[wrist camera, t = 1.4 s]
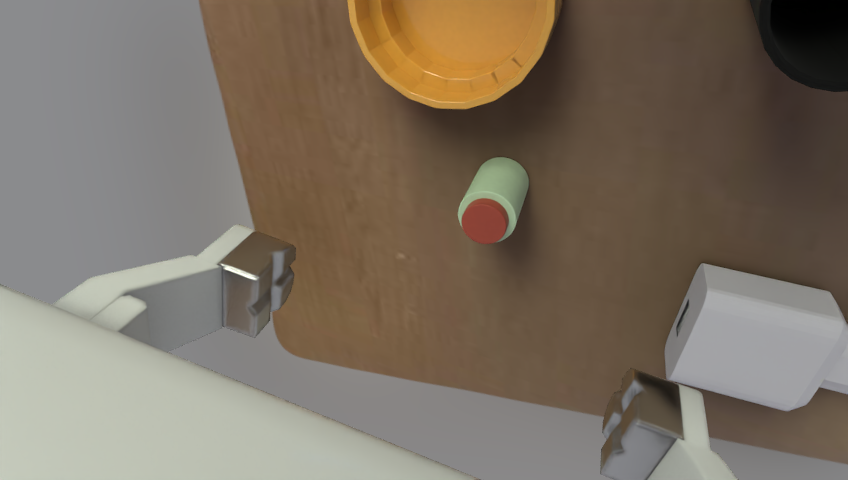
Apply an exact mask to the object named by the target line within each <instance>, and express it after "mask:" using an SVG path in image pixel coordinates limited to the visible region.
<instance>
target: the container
mask: <svg viewBox="0 0 848 480" xmlns="http://www.w3.org/2000/svg"><path fill="white" fill-rule="evenodd" d="M528 187H529V179H528V175H527V173H526V171H525V170H524V168H523V167H522V166H521V165H520V164H519V163H518V162H516V161H514V160H512V159H509V158H505V157H497V158H492V159H490V160H488V161H486V162H485V163H483V164H482V165H481V167H480V168H479V170H478V172H477V174H476V176H475V177H474V179H473V181H472V183H471V185H470V187H469V189H468V191H467V192H466V194H465V196H464V198H463V200H462V202H461V204H460V206H459V210H458V218H459V222H460V224H461V226H462V228H463V230H464V232H465V233H466V235H467V236H468V237H469V238H470V239H472V240H473V241H475V242H478V243H481V244H491V243H495V242H499V241H502V240H504V239H506V238H507V237H508V236H509V235H510V234H511V233H512V232H513V230H514V228H515V226H516V223H517V220H518V217H519V214H520V211H521V208H522V205H523V203H524V200H525V197H526V194H527V191H528Z"/></svg>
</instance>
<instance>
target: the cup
mask: <svg viewBox="0 0 848 480" xmlns="http://www.w3.org/2000/svg"><path fill="white" fill-rule="evenodd" d="M750 3H751V6H752V9H753V12H754V16H755V19H756V22H757V25H758V29H759V32H760V35H761V39H762V42H763V45H764V48H765V50H766V52H767V53H768V55H769V56H770V58H771V60H772V61H773V63H774V64H775V66H776V67H778V68H779V69H780V70H781V71H782V72H784V73H785V74H786V75H787V76H788V77H790V78H791V79H792V80H795V81H797V82H799V83H801V84H804V85H806V86H808V87H811V88H815V89H821V90H827V91H833V92H841V91H848V0H750Z"/></svg>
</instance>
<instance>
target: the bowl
mask: <svg viewBox="0 0 848 480" xmlns="http://www.w3.org/2000/svg"><path fill="white" fill-rule="evenodd" d="M347 1H348V8H349V16H350V23H351V26H352V29H353V31H354V33H355V36H356V38H357V41H358V43H359V45H360V48H361V50H362V53H363V55H364V56H365V58H366V59H367V60H368V61H369V63H370V64H371V65H372V67H373V68H374V69H375V70H376V72H377V73H378V74H379V76H380V77H381V78H382V79H383V80H384V81H385V82H386V83H388V84H389V85H390V86H392V87H393V88H394V89H396V90H397V91H399V92H400V93H401V94H403V95H404V96H405V97H407V98H408V99H411V100H414V101H417V102H419V103H422V104H425V105H428V106H431V107H434V108H439V109H469V108H472V107H476V106H479V105H482V104H486V103H489V102H493V101H495V100H497V99H498V98H500V97H501V96H503V95H504V94H506V93H507V92H508V91H510V90H511V89H513V88H514V87H516V86H517V85H518V84H520V83H521V82H522V81H523V80H524V78H525V77H526V76H527V74H528V73H529V72H530V71H531V69H532V68H533V67H534V65H535V64H536V63H537V61H538V60H539V59H540V57H541V56H542V54H543V52H544V50H545V48H546V46H547V44H548V43H549V41H550V39H551V36H552V34H553V31H554V28H555V25H556V22H557V20H558V17H559V14H560V11H561V7H562V0H347Z"/></svg>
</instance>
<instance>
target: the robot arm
mask: <svg viewBox="0 0 848 480" xmlns="http://www.w3.org/2000/svg"><path fill="white" fill-rule="evenodd" d="M295 258H296V248H295V247H294V245H292V244H290V243H287V242H285V241H282V240H279V239H277V238H274V237H272V236H269V235H267V234H264V233H261V232H259V231H255V230H253V229H250V228H248V227H245V226H242V225H240V224H239V225H234V226H233V227H232V228H230V229H229V230H228V231H227V232H226V233H224V234H223V235H222V236H221V237H219V238H218V239H217V240H216V241H215V242H213V243H212V244H211V245H210V246H209V247H207V248H206V249H205V250H204V251H202V252H201V253H200V254H199V255H198V256H196V257H195V256H192V255H189V256H184V257H180V258H175V259H171V260H166V261H162V262H157V263H153V264H149V265H144V266H140V267H136V268H131V269H127V270H122V271H118V272H113V273H109V274H105V275H100V276H96V277H91V278H89V279H88V280H86V281H85V282H83V283H82V284H81V285H79V286H78V287H76V288H75V289H73V290H72V291H71V292H69V293H68V294H66V295H65V296H63V297H62V298H61V299H59V300H58V301H56V302H55V303H54V304H52V305H51V304H48V303H46V302H43V301H41V300H38V299H36V298H33V297H31V296H29V295H26V294H24V293H21V292H19V291H16V290H14V289H11V288H9V287H7V286H4V285H2V284H0V480H480V479H478V478H475V477H473V476H471V475H468V474H466V473H463V472H460V471H458V470H456V469H453V468H451V467H449V466H446V465H444V464H441V463H439V462H436V461H434V460H431V459H429V458H427V457H424V456H421V455H419V454H417V453H414V452H412V451H409V450H407V449H404V448H402V447H399V446H397V445H395V444H392V443H390V442H387V441H385V440H382V439H380V438H377V437H375V436H372V435H370V434H367V433H365V432H362V431H360V430H357V429H355V428H353V427H350V426H347V425H345V424H343V423H340V422H338V421H335V420H333V419H330V418H328V417H326V416H323V415H321V414H318V413H316V412H313V411H311V410H308V409H306V408H303V407H301V406H299V405H296V404H294V403H291V402H289V401H286V400H284V399H281V398H279V397H276V396H274V395H272V394H269V393H267V392H264V391H262V390H259V389H257V388H254V387H252V386H249V385H247V384H244V383H242V382H239V381H237V380H234V379H232V378H230V377H227V376H225V375H222V374H220V373H217V372H215V371H213V370H210V369H208V368H205V367H203V366H200V365H198V364H195V363H193V362H190V361H188V360H186V359H183V358H181V357H178V356H176V355H173V354H171V353H168V352H169V351H171V350H173V349H176V348H178V347H180V346H183V345H185V344H187V343H189V342H192V341H194V340H196V339H199V338H201V337H203V336H205V335H208V334H210V333H212V332H214V331H217V330H219V329H221V328H222V326H223V327H226V328H228V329H231V330H234V331H237V332H239V333H242V334H245V335H248V336H250V337H253V338H255V337H256V336H257V335H258V334H259V333H260V331H261V330H262V329H263V328H264V327H265V325H266V324H267V323H268V322H269V321H270V312H272V311H275V310H278V309H280V308H281V307H282V305H283V304H284V303H285V302H286V300H287V298H288V296H289V294H290V292H291V289H292V285H293V281H294V273H293V271H292V269H291V267H290V265H291V264H292V263H293V262H294V260H295ZM602 433H603V434H604V436H605V437H606V439H607V441H606V442H605V444H604V446H603V447H602V449H601V471H600V474H602V475H604V476H606V477H609V478H611V479H614V480H738V479H737V478H736V476H735V475H734V474H733V472H732V471H731V470H730V469H729V467H728V466H727V465H726V463H725V462H724V461H723V459H722V458H721V457H720V456H719V454H718V453H715V452H713V451H711V446H710V440H709V433H708V427H707V420H706V413H705V407H704V400H703V395H702V393H701V392H700V391H698V390H695V389H692V388H689V387H686V386H683V385H680V384H677V383H676V384H675V383H673V382H670V381H667V380H664V379H662V378H659V377H656V376H653V375H650V374H648V373H645V372H642V371H639V370H636V369H634V368H630V369H629V370H628V371H627V372H626V374H625V375H624V377H623V378H622V390H620V391H617V392H614V394H613V396H612V398H611V399H610V401H609V403H608V406H607V409H606V412H605V415H604V420H603V431H602Z"/></svg>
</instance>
